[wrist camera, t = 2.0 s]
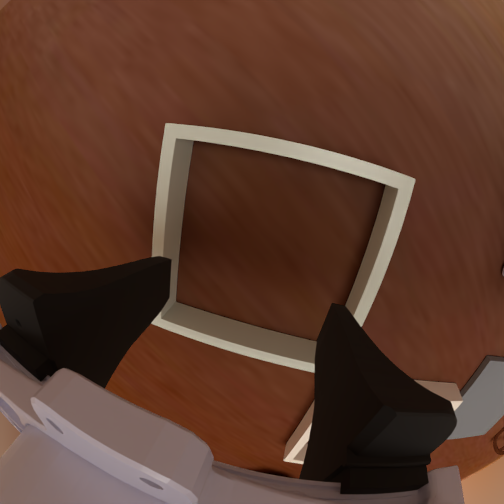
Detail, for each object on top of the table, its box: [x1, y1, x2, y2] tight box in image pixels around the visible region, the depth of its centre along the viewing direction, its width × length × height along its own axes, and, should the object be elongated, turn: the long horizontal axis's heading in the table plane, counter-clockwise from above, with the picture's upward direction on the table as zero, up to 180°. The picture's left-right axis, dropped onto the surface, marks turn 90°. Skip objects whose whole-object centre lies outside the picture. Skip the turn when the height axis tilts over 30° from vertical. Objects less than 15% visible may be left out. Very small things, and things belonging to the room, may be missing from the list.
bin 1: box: [152, 123, 415, 373], centre depth 16 cm, size 14×14×2 cm
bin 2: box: [283, 380, 463, 464], centre depth 20 cm, size 14×14×2 cm
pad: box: [447, 355, 504, 439], centre depth 18 cm, size 13×13×1 cm
